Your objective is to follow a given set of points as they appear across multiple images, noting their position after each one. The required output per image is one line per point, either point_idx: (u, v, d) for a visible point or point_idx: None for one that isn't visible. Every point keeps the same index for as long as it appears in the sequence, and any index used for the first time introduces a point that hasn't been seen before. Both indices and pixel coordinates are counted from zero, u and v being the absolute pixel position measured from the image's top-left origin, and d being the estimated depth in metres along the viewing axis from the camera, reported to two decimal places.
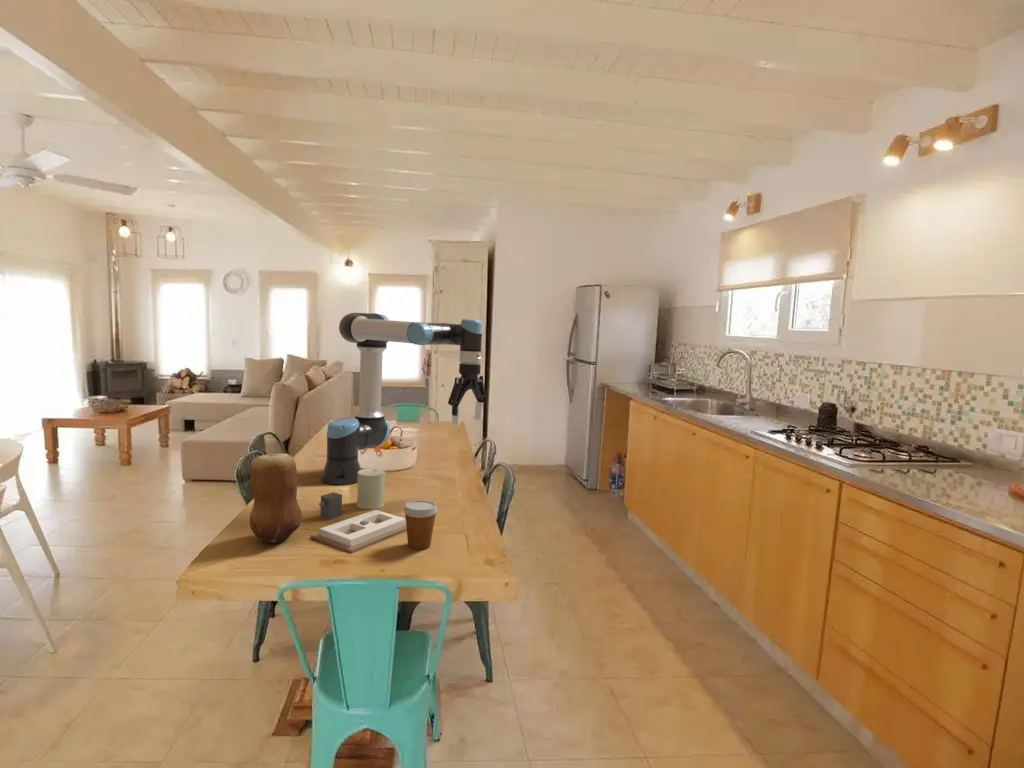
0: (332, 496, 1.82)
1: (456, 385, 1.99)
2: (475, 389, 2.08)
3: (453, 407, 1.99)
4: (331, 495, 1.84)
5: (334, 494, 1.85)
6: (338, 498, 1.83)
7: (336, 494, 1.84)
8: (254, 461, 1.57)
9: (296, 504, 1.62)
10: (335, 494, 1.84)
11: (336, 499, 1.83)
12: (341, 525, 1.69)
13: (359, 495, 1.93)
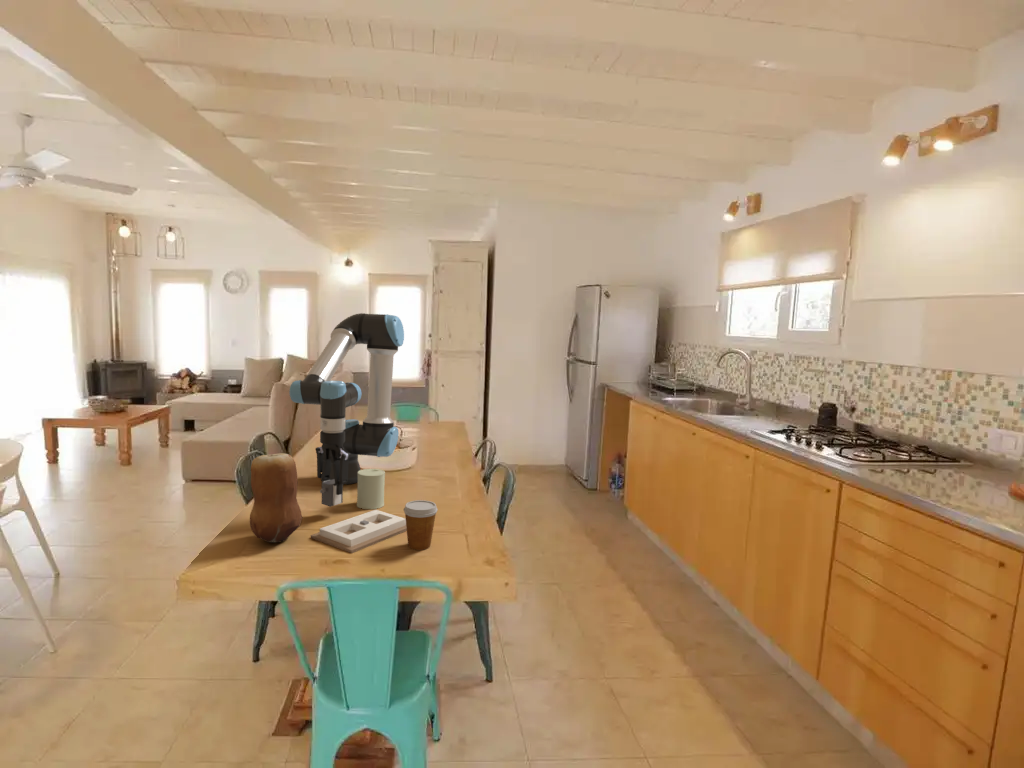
0: (333, 483, 1.82)
1: None
2: None
3: None
4: (331, 481, 1.83)
5: None
6: None
7: None
8: (254, 461, 1.57)
9: (296, 504, 1.62)
10: None
11: None
12: (341, 525, 1.69)
13: (359, 495, 1.93)
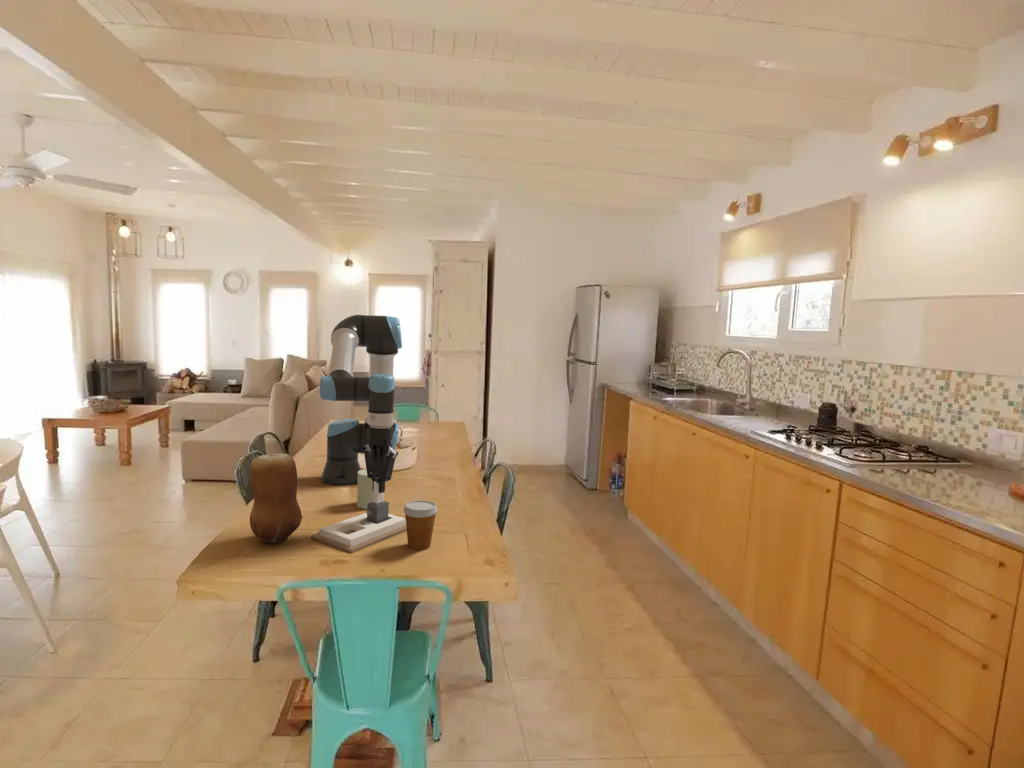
0: (380, 504, 1.74)
1: None
2: None
3: None
4: None
5: None
6: (385, 506, 1.76)
7: (382, 502, 1.77)
8: (254, 461, 1.57)
9: (296, 504, 1.62)
10: (381, 502, 1.76)
11: (383, 506, 1.75)
12: (341, 525, 1.69)
13: (359, 495, 1.93)
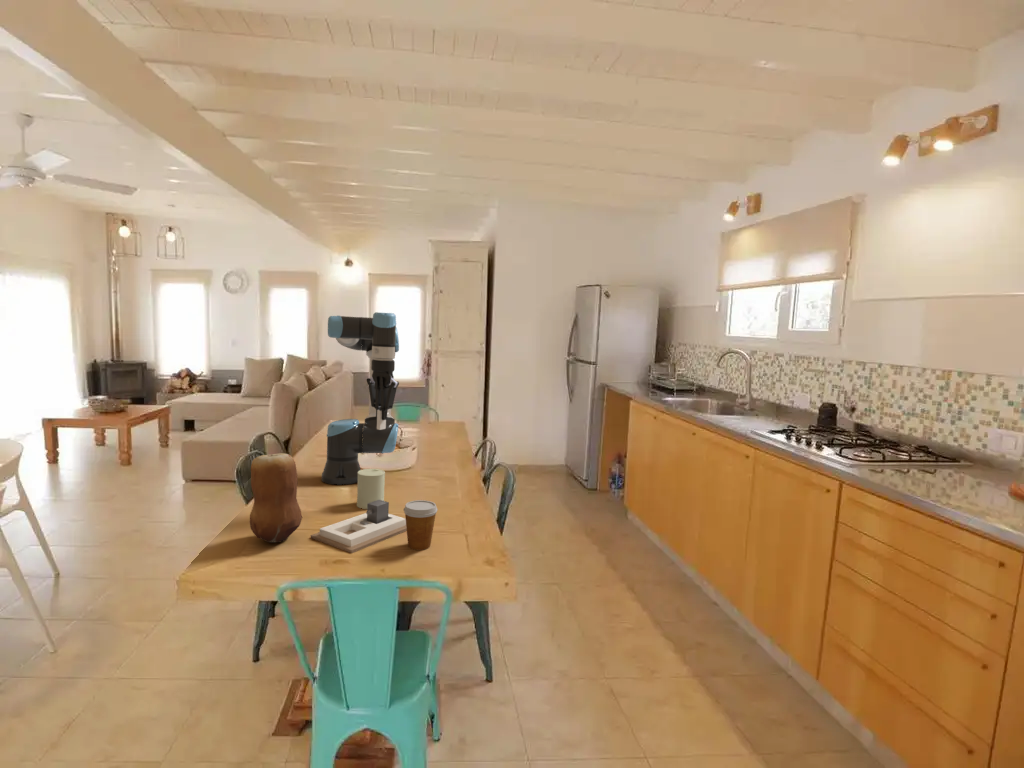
0: (380, 504, 1.74)
1: None
2: None
3: None
4: (377, 502, 1.76)
5: (380, 501, 1.77)
6: (385, 506, 1.76)
7: (382, 501, 1.77)
8: (254, 461, 1.57)
9: (296, 504, 1.62)
10: (381, 502, 1.76)
11: (383, 506, 1.75)
12: (341, 525, 1.69)
13: (359, 495, 1.93)
